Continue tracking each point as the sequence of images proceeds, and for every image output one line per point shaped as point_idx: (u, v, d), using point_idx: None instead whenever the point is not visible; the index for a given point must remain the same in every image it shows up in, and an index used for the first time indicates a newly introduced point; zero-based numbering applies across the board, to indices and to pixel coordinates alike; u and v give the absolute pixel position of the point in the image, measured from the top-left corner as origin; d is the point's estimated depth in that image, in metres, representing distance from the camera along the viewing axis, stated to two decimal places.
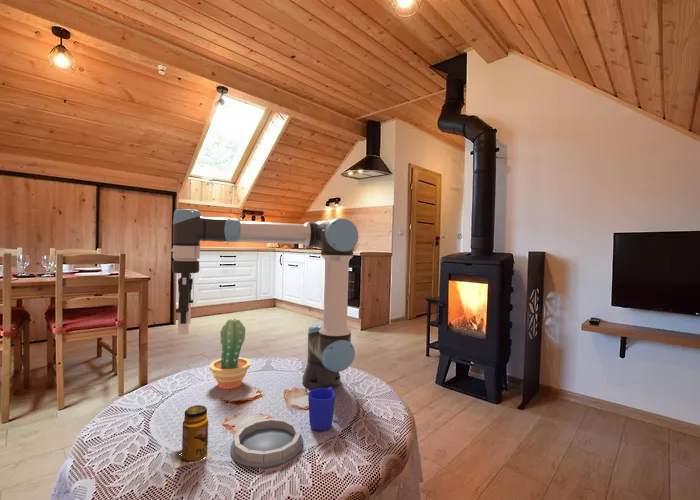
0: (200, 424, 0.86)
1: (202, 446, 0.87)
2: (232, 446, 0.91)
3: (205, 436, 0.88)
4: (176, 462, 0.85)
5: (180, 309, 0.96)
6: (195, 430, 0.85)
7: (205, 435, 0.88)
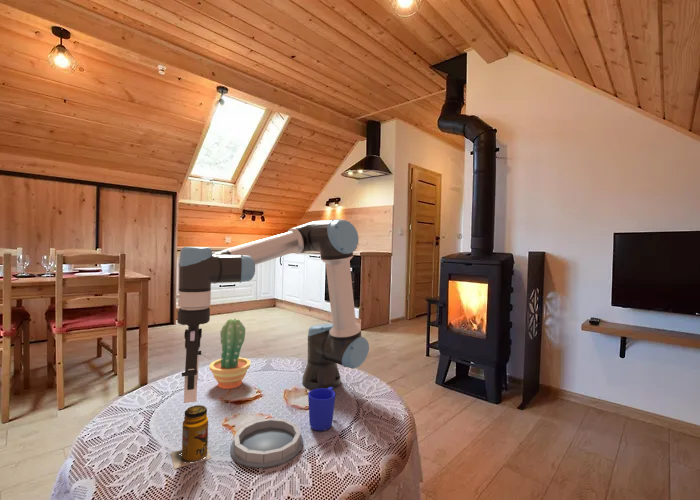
0: (200, 424, 0.86)
1: (202, 446, 0.87)
2: (232, 446, 0.91)
3: (205, 436, 0.88)
4: (176, 462, 0.85)
5: (187, 373, 0.78)
6: (195, 430, 0.85)
7: (205, 435, 0.88)
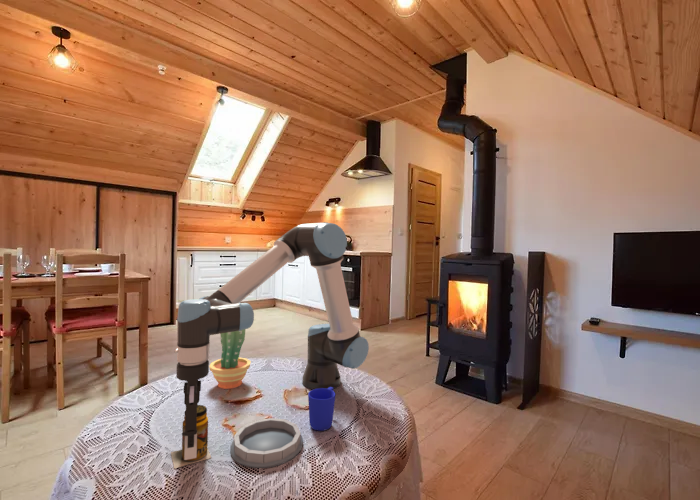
0: (200, 424, 0.86)
1: (202, 446, 0.87)
2: (232, 446, 0.91)
3: (205, 436, 0.88)
4: (176, 462, 0.85)
5: (187, 433, 0.81)
6: None
7: (205, 435, 0.88)
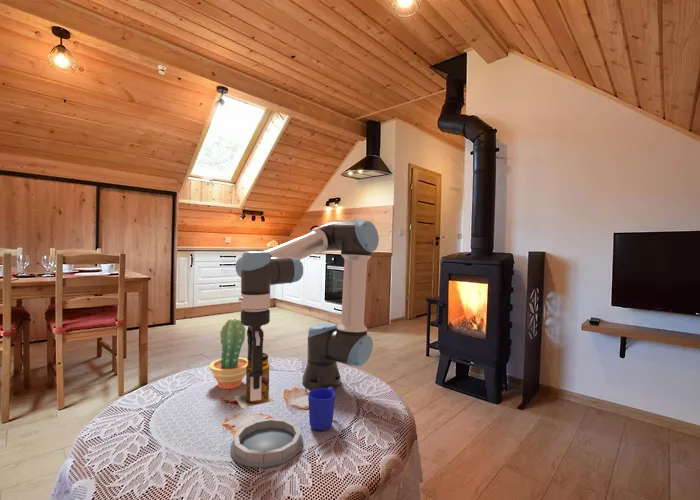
0: (264, 368, 0.91)
1: (265, 389, 0.91)
2: (232, 446, 0.91)
3: (267, 380, 0.92)
4: (242, 403, 0.90)
5: (255, 374, 0.86)
6: None
7: (267, 379, 0.92)
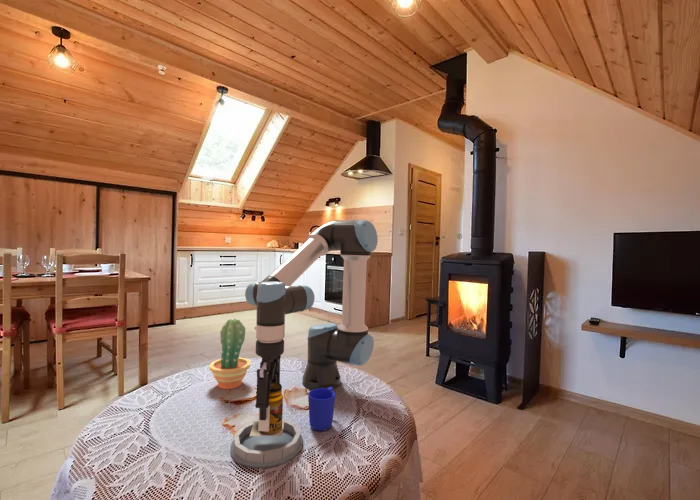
0: (273, 400, 0.91)
1: (275, 422, 0.91)
2: (232, 446, 0.91)
3: (278, 413, 0.91)
4: (253, 431, 0.92)
5: (257, 406, 0.87)
6: None
7: (278, 412, 0.91)
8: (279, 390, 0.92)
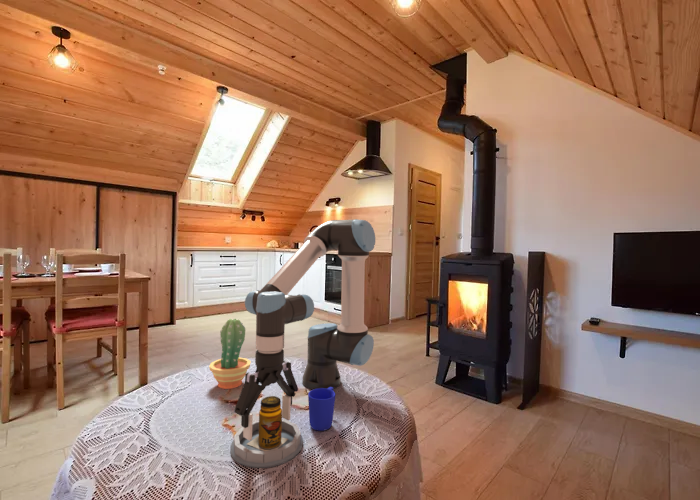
0: (266, 415, 0.90)
1: (267, 437, 0.90)
2: (232, 446, 0.91)
3: (271, 429, 0.90)
4: (254, 440, 0.94)
5: (235, 411, 0.86)
6: (261, 418, 0.91)
7: (271, 428, 0.90)
8: (273, 406, 0.91)
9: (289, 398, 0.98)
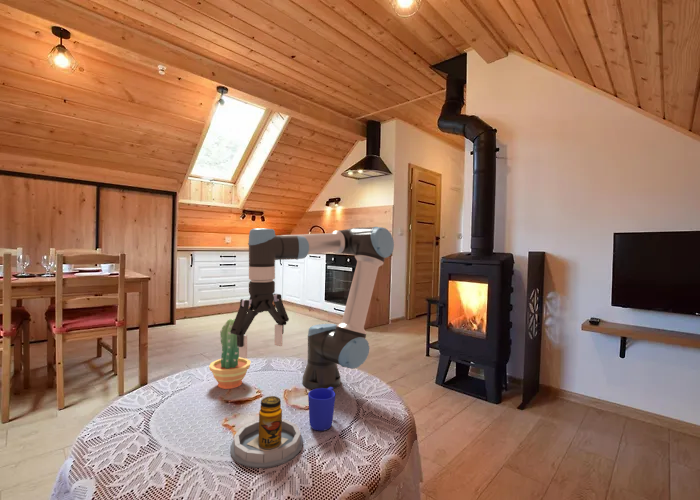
0: (266, 415, 0.90)
1: (267, 437, 0.90)
2: (232, 446, 0.91)
3: (271, 429, 0.90)
4: (254, 440, 0.94)
5: (231, 331, 0.95)
6: (261, 418, 0.91)
7: (271, 428, 0.90)
8: (273, 406, 0.91)
9: (281, 326, 1.07)
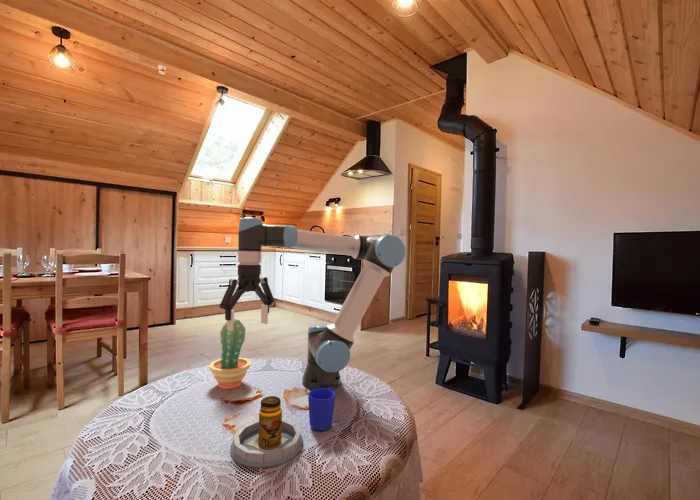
0: (266, 415, 0.90)
1: (267, 437, 0.90)
2: (232, 446, 0.91)
3: (271, 429, 0.90)
4: (254, 440, 0.94)
5: (220, 306, 1.08)
6: (261, 418, 0.91)
7: (271, 428, 0.90)
8: (273, 406, 0.91)
9: (266, 306, 1.20)
